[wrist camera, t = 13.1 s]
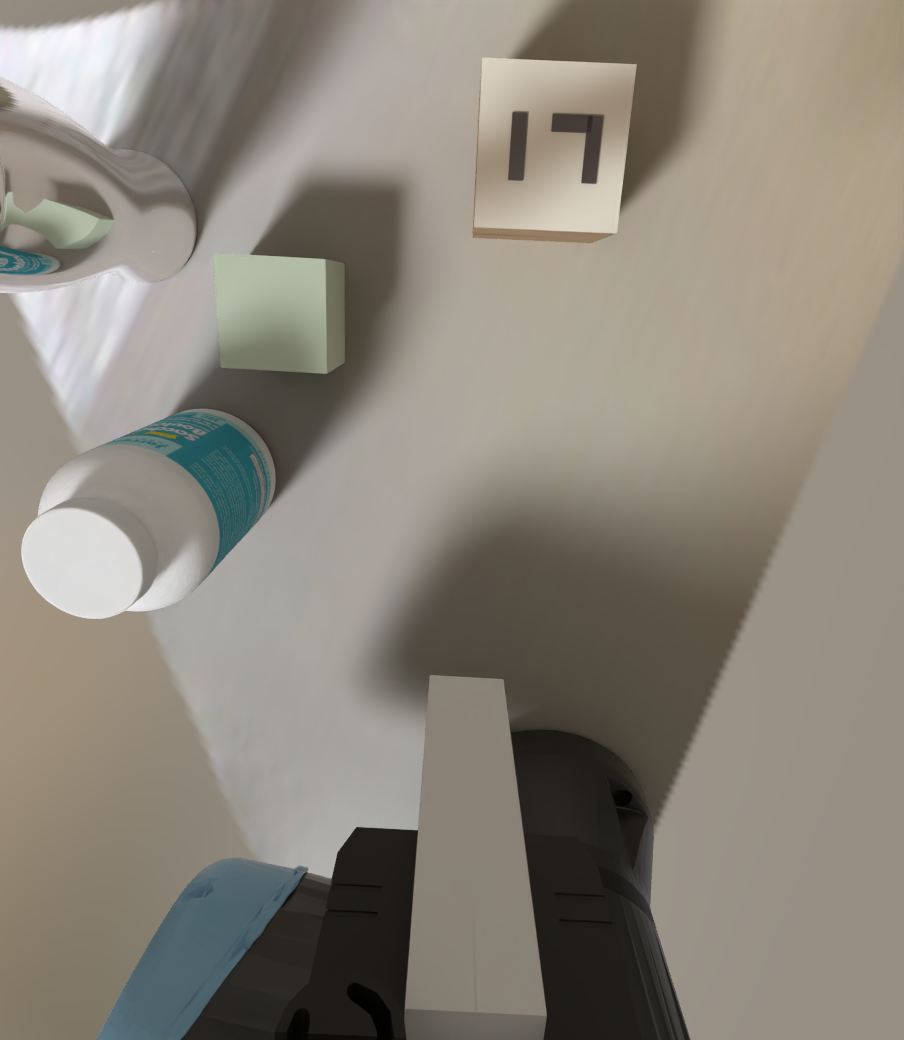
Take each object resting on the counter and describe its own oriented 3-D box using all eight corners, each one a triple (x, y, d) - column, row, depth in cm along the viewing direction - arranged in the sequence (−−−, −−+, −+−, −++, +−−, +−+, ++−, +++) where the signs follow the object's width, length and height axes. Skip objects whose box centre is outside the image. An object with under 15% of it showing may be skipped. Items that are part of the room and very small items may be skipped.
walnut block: (637, 63, 25) (605, 106, 31) (482, 56, 25) (479, 100, 31) (617, 232, 27) (590, 242, 33) (473, 226, 27) (472, 237, 33)
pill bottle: (237, 383, 35) (109, 437, 22) (302, 500, 37) (219, 609, 25) (124, 438, 36) (-59, 518, 24) (193, 548, 39) (60, 676, 26)
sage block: (345, 362, 35) (326, 373, 30) (253, 356, 35) (220, 367, 30) (345, 263, 33) (325, 259, 28) (248, 257, 33) (212, 252, 28)
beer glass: (91, 298, 34) (-177, 305, 20) (50, 149, 31) (-287, 35, 17) (220, 284, 33) (41, 281, 19) (188, 132, 31) (-41, 2, 17)
